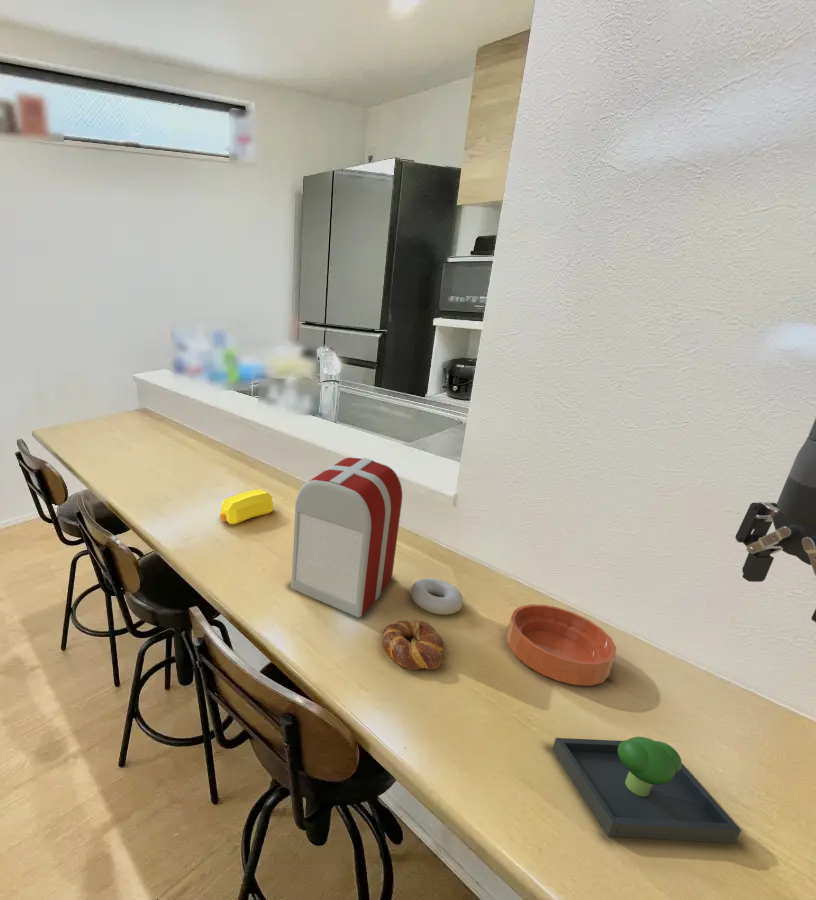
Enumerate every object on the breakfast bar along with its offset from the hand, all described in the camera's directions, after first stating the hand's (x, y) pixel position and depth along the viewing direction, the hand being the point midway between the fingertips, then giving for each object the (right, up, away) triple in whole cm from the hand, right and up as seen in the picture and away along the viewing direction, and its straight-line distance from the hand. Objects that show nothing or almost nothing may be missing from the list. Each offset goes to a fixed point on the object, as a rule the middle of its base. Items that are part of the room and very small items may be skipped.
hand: (785, 600), depth 62 cm
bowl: (-11, -18, +26) cm, 34 cm away
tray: (-16, -26, +3) cm, 31 cm away
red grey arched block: (-43, -11, +47) cm, 65 cm away
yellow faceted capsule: (-63, 0, +78) cm, 100 cm away
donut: (-26, -13, +41) cm, 50 cm away
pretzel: (-36, -18, +28) cm, 49 cm away
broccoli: (-16, -26, +3) cm, 30 cm away
